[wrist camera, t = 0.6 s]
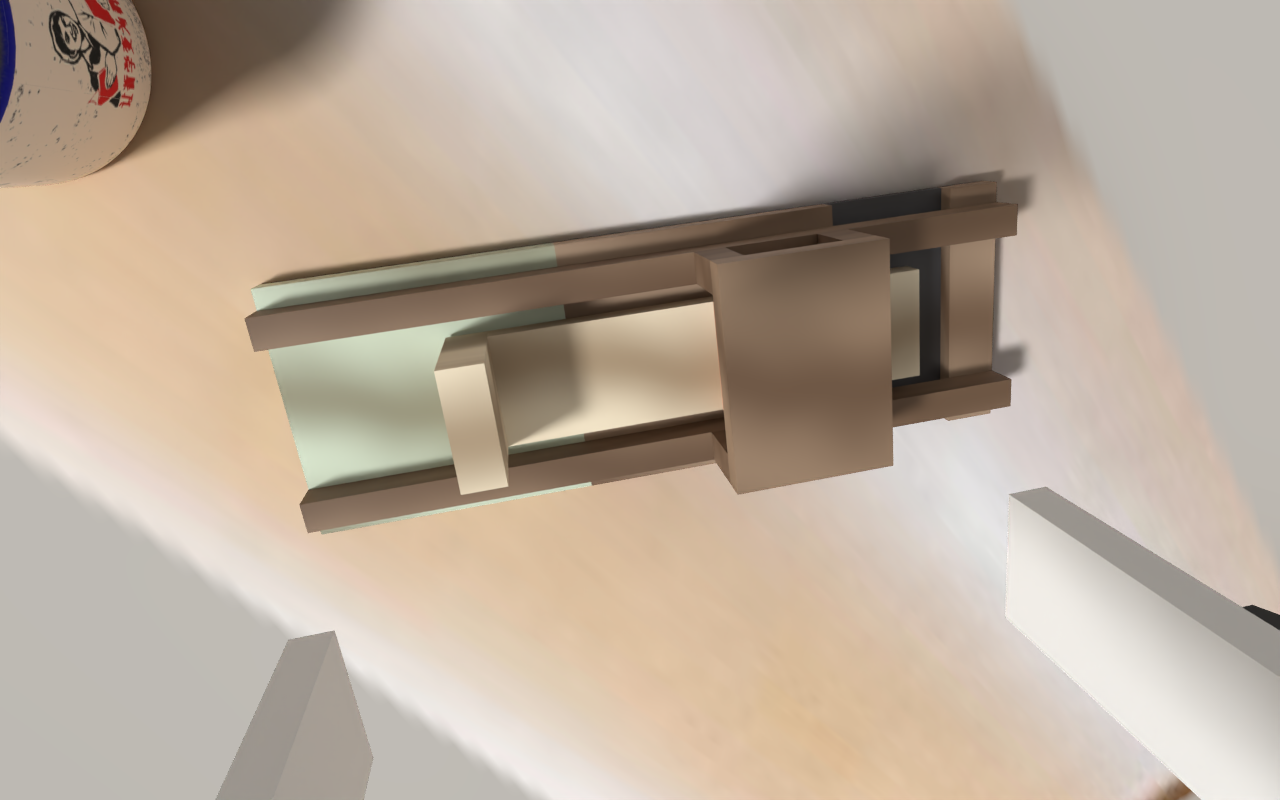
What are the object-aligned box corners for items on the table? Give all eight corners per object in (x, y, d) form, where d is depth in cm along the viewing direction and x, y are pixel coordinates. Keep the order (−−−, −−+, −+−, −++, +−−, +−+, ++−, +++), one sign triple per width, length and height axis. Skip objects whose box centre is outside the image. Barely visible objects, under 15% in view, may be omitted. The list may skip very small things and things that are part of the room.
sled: (445, 337, 29) (434, 371, 24) (906, 266, 31) (974, 284, 27) (468, 444, 30) (461, 494, 26) (907, 368, 32) (972, 403, 28)
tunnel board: (259, 284, 28) (200, 315, 23) (982, 180, 32) (1080, 186, 26) (327, 523, 32) (289, 599, 26) (977, 406, 35) (1064, 452, 30)
